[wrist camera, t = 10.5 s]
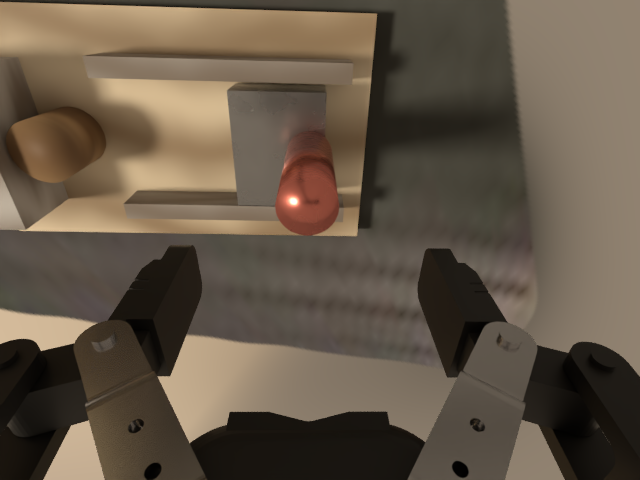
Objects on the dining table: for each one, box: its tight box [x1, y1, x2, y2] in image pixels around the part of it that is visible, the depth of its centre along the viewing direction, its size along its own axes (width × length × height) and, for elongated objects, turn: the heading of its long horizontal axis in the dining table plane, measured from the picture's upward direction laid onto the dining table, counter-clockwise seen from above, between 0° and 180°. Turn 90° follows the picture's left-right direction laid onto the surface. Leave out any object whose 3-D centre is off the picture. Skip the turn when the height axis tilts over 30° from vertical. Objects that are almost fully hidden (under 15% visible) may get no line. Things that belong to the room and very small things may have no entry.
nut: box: [6, 106, 106, 183], centre depth 25 cm, size 4×4×4 cm
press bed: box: [0, 2, 377, 236], centre depth 25 cm, size 16×28×6 cm, turn 89°
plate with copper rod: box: [227, 83, 339, 235], centre depth 22 cm, size 8×6×11 cm
